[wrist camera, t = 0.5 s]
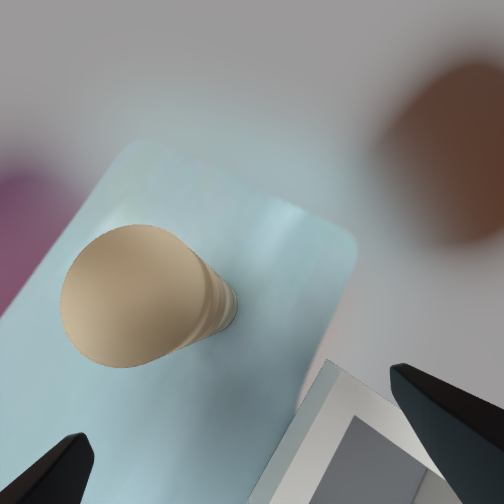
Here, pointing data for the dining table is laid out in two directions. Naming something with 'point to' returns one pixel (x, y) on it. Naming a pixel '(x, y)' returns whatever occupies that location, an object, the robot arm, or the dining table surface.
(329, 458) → the well block
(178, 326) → the peg
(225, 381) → the dining table surface
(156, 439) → the dining table surface
